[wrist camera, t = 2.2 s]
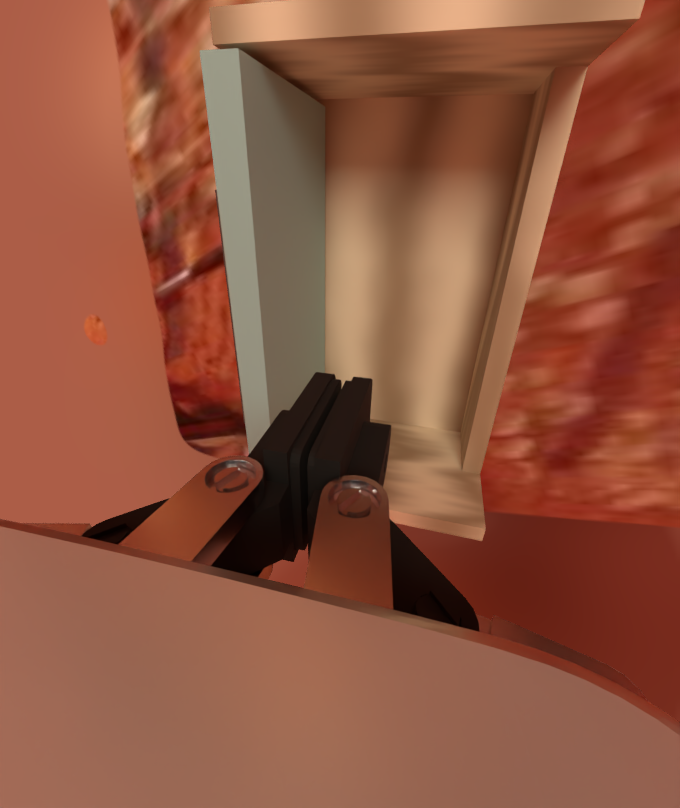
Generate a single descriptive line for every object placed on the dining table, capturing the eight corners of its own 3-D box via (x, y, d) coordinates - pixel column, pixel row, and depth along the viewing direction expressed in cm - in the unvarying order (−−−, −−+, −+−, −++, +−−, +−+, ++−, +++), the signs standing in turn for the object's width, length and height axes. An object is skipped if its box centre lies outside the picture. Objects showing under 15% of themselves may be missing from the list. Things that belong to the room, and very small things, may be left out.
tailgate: (325, 106, 22) (238, 48, 13) (324, 409, 32) (275, 494, 23) (291, 107, 23) (184, 51, 14) (301, 406, 33) (244, 488, 24)
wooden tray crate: (551, 82, 22) (654, -31, 11) (471, 425, 33) (482, 540, 22) (317, 89, 24) (208, 7, 14) (319, 403, 36) (262, 495, 25)
